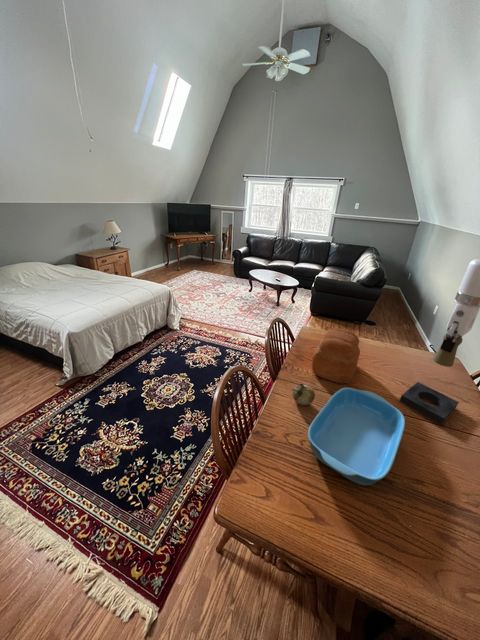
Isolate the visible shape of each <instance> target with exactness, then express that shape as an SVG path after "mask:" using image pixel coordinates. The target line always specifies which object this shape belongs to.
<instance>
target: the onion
mask: <svg viewBox="0 0 480 640" xmlns="http://www.w3.org/2000/svg"><path fill="white" fill-rule="evenodd" d="M291 391H292V398H293V400H294V401H295V403H297V404H298V405H301V406H309V405H310V404H312V403H313V402H314V400H315V397H316V394H315V393H316V392H315V391H314V389H313V387H311V386H309V385H306V384H304V383H300V382H299V384H297V386H296V387H293V386H291Z"/></svg>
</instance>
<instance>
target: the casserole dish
mask: <svg viewBox="0 0 480 640" xmlns="http://www.w3.org/2000/svg"><path fill="white" fill-rule="evenodd" d="M405 426H406V420H405V416H404V414H403V413H402V412H401V411H400V410H399V409H398V408H396V407H395V406H394V405H392V404H391V403H389V402H388V400H387V399H385V398H384V397H382V396H381V395H379V394H377V393H374V392H372V391H368V390H363V389H362V390H361V389H357V388H353V387H343V388H340V389H338V390H337V391H336V392H335V393H334V394H333V395H332V396H331V397H330V399H328V401H327V403H326V404H325V405H324V406H323V407H322V408H321V410H320V411H319V412H318V414H316V416H315V417H314V419H313V420H312V422H311V423H310V425H309V427H308V431H307V436H308V441H309V445H310V449H311V450H312V453H313V454H314V456H315V457H316V459H318V460H319V461H320V462H321V463H322V464H324V465H325V466H327V467H329V468H330V469H332V470H333V471H335V472H336V473H339V474H340V475H341V476H343V477H344V478H346V479H347V480H350V481H351V482H352V483H355V484H357V485H361V486H371V485H373V484H375V483H377V482H379V481H381V480H382V479H384V478H385V477H386V476H387V475H388V474H389V473H390V471H391V469H392V467H393V465H394V462H395V459H396V457H397V454H398V450H399V447H400V444H401V441H402V438H403V435H404V431H405Z"/></svg>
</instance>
